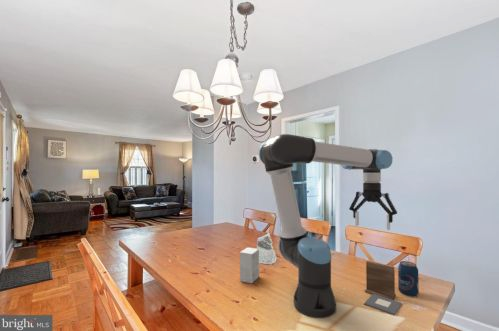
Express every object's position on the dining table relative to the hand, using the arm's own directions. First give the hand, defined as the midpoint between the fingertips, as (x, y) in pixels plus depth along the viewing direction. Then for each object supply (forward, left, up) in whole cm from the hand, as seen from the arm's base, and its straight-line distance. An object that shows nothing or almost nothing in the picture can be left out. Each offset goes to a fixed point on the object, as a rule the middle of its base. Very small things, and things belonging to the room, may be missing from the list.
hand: (372, 227), depth 115 cm
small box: (-41, +41, -24) cm, 62 cm away
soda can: (-6, -15, -24) cm, 29 cm away
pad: (-22, -10, -23) cm, 34 cm away
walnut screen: (-15, -7, -23) cm, 29 cm away
